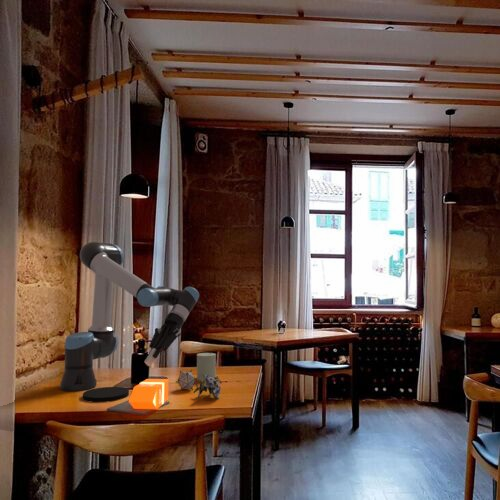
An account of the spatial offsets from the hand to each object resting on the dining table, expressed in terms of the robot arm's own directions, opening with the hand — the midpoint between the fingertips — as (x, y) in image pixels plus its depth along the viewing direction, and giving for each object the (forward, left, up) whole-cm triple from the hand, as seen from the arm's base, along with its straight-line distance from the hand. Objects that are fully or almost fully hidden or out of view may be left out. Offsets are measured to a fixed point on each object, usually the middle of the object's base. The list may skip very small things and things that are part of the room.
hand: (147, 363), depth 173 cm
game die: (+5, +22, -14) cm, 26 cm away
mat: (+2, -7, -14) cm, 16 cm away
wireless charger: (-20, +1, -15) cm, 25 cm away
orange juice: (+3, +3, -10) cm, 11 cm away
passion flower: (+20, +13, -15) cm, 28 cm away
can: (+3, +44, -14) cm, 46 cm away
